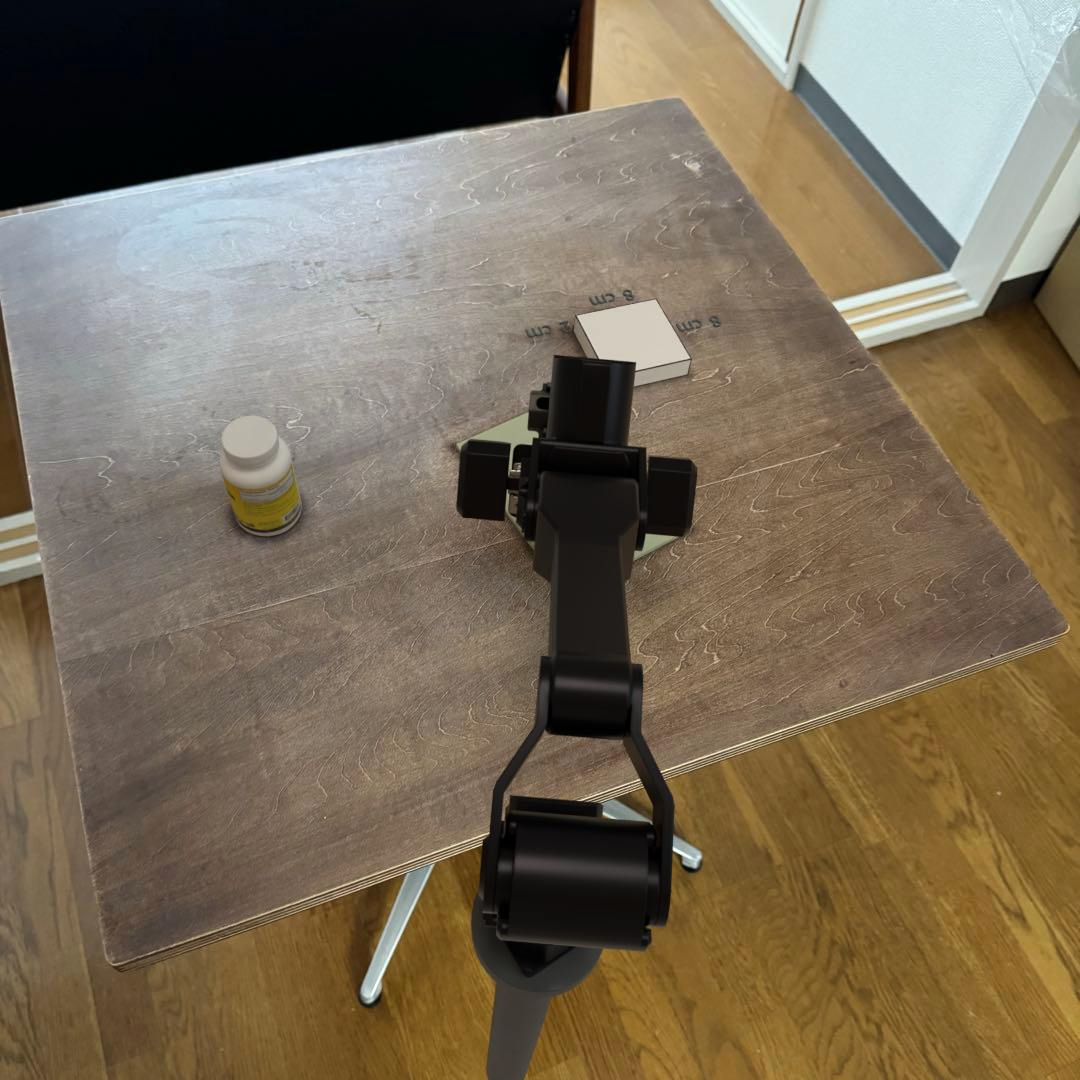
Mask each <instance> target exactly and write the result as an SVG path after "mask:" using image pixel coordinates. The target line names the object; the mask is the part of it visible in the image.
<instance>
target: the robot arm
mask: <svg viewBox="0 0 1080 1080" xmlns="http://www.w3.org/2000/svg"><path fill="white" fill-rule="evenodd" d="M552 356H553V357H552V366H551V368H552V369H551V379H550V382H549V381H547V382H543V383H542V389H540V390H534V389H532V390H531V391H529V392H530V393H529V403H528V412H529V414H528V427H527V429H528V431H536V432H537V433H538V435H539V436H538V438H536V437H533V440H532V445H528V444H518V445H516V446H515V447H514V449H513V457H512V469H510V473H509V461H510V451H511V443H508V442H502V441H490V440H479V439H469V438H468V439H469V440H468V441H467V442H466V443H465V444H463V445H462V446H461V452H459V464H458V475H457V476H458V478H457V490H456V503H455V504H456V507H455V509H456V511H457V513H458V514H459V515H460V516H461V518H462V519H469V520H470V519H471V520H482V521H494V522H505V520H506V513H505V509H506V497H507V490H508V494H509V504H508V512H509V514H510V515H511V516H513V517H516V523H517V524H518V525H519V527H520V528H521V533H524V537H523V542H527V541H529V542H534V550H533V554H532V570H533V571H534V573H536V574H537V575H539V577H541V578H543V579H544V580H545V581H547V582H548V583H549V584H550V589H549V590H550V593H549V614H548V615H549V616H548V618H549V619H548V622H549V623H548V640H547V641H548V644H547V655H540V657H539V665H538V677H537V688H536V698H535V711H534V724H533V727H532V728H531V730H530V732H529V733H528V735H527V736H526V737H525V739H524V740H523V742H522V744H520V746H519V748H517V750H516V752H515V754H514V755H513V756H512V758H511V759H510V761H509V762H508V764H507V765H506V766H505V768H504V769H503V771H502V772H501V774H500V775H499V776H498V778H497V780H496V781H495V784H494V787H493V788H492V789H493V790H492V797H491V798H492V799H491V809H490V820H489V832H488V835H487V836H485V837H484V838H483V839H482V843H481V855H480V865H479V867H480V868H479V878H478V879H479V881H478V889H479V893H478V895H479V897H480V898H481V899H482V900H483V911H482V913H483V921H486V922H485V927H496V935H497V937H498V938H499V939H500V940H503V941H504V942H505V944H506V946H507V947H508V949H509V951H510V952H511V954H512V956H513V957H514V959H515V961H516V962H517V964H518V966H519V967H520V969H521V971H522V972H523V974H524V975H525V976H526V977H529V978H530V977H533V976H534V975H536V974H537V973H539V972H540V971H542V970H543V969H545V968H546V967H548V966H549V965H551V964H552V963H554V962H555V961H557V960H558V959H560V958H561V957H563V956H564V955H566V954H567V953H569V952H570V951H572V950H573V949H575V948H576V947H590V948H602V949H603V950H615V951H624V952H625V951H626V952H636V953H637V952H639V953H644V952H646V951H647V950H648V949H649V948H650V946H651V945H652V942H653V937H652V936H653V935H652V934H653V933H652V929H651V927H652V928H660V929H661V928H662V929H664V928H665V927H666V926H667V923H668V920H669V915H670V908H671V899H672V898H671V897H672V879H673V858H674V857H673V856H674V834H675V833H674V831H675V830H674V829H675V809H676V807H675V806H676V805H675V800H674V796H673V794H672V792H671V789H670V788H669V786H668V783H667V781H666V779H665V777H664V776H663V774H662V771H661V769H660V768H659V765H658V763H657V761H656V759H655V758H654V756H653V754H652V752H651V749H650V747H649V745H648V744H647V741H646V739H645V737H644V735H643V732H642V725H643V724H642V721H643V702H644V668H643V664H642V663H635V662H632V657H631V643H630V633H629V632H630V631H629V619H628V607H627V594H626V582H628V581H629V580H631V578H632V572H633V565H634V561H633V559H634V552H635V551H642V550H643V547H644V542H645V536H646V534H652V535H664V536H675V537H678V538H684V537H685V536H686V535H687V534H688V533H689V532H690V531H691V528H692V525H693V518H694V509H695V500H696V490H697V483H698V466H697V465H696V464H695V462H693V460H692V459H691V458H689V457H683V456H682V457H681V456H671V455H670V456H669V455H658V454H647V447H646V446H638V445H636V446H635V445H629V438H630V437H629V435H630V428H631V419H632V418H631V417H632V409H633V398H634V388H635V387H634V380H635V370H636V362H629V361H618V360H607V359H596V358H587V357H586V356H585V357H582V356H571V355H562V354H553V355H552ZM519 465H520V466H521V467H518V466H519ZM508 473H509V476H508ZM521 533H520V534H521ZM545 732H546V733H547V734H548V736H549V735H550V736H562V737H574V738H586V739H595V740H607V741H608V740H610V741H620V742H621V741H622V745H623V747H624V749H625V751H626V754H627V755H628V758H629V760H630V761H631V764H632V766H633V768H634V770H635V772H636V774H637V776H638V778H639V780H640V783H641V785H642V786H643V789H644V790H645V792H646V795H647V796H648V799H649V801H650V803H651V805H652V818H651V819H652V820H651V821H646V820H645V821H643V820H633V819H632V820H631V819H621V818H609V817H603V816H604V805H603V804H602V803H601V802H600V801H599V802H598V801H588V800H587V801H585V800H573V799H563V798H552V797H551V798H550V797H540V796H527V795H515V794H509V799H508V800H509V801H508V804H507V806H505V809H504V817H503V808H504V798H505V797H504V796H505V793H506V791H507V790H508V789H509V787H510V785H511V784H512V782H513V781H514V779H515V778H516V776H517V775H518V773H519V772H520V771H521V769H522V767H523V766H524V764H525V763H526V761H527V760H528V759H529V757H530V756H531V754H532V753H533V751H534V750H535V748H536V747H537V746H538V743H540V741H541V740H542V737H543V735H544V733H545ZM503 818H504V819H503ZM649 927H650V928H649ZM527 967H531V968H532V970H533V971H532V972H531V973H528V972H527V971H526V968H527Z"/></svg>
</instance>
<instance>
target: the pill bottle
mask: <svg viewBox="0 0 1080 1080" xmlns="http://www.w3.org/2000/svg"><path fill="white" fill-rule="evenodd" d="M220 440H221V446H222V449H221V451H220V454H219V458H218V464H219V469H220V473H221V476H222V480H223V483H224V486H225V490H226V492H227V496H228V498H229V501H230V505H231V509H232V511H233V514H234V518H235V520H236V522H237V524H238V525H239V526H240V527H241V528H242V529H243V530H244V531H245V532H247V533H249V534H252V535H254V536H258V537H259V536H260V537H274V536H277V535H280V534H283V533H285V532H287V531H289V530H290V529H291V528H293V526H294V525H295V524H296V523H297V522H298V520H299V518H300V517H301V514H302V510H303V509H302V508H303V503H302V497H301V493H300V488H299V485H298V479H297V476H296V475H297V474H296V471H295V466H294V462H293V461H294V460H293V456H292V452H291V450H290V447H289V445H288V444H287V442H286V441H285V440H284V439H283V438H282V437H280V436H279V434H278V431H277V428H276V427H275V425H274V423H272V422H271V420H268V419H267V418H265V417H263V416H259V415H246V416H241V417H237V418H235V419H234V420H232V421H230V423H228V424H227V425H226V426H225V427H224V429H223V430H222V434H221V438H220Z"/></svg>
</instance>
